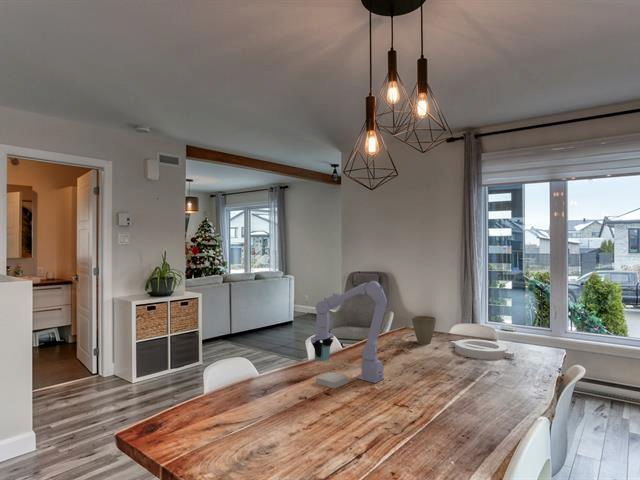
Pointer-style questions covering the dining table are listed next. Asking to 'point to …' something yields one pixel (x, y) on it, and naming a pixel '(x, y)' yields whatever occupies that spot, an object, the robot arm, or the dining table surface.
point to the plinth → (332, 380)
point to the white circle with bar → (481, 349)
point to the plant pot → (424, 328)
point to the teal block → (324, 353)
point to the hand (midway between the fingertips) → (322, 355)
